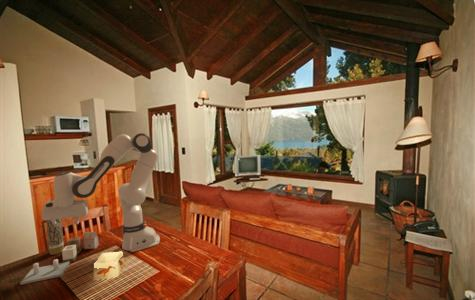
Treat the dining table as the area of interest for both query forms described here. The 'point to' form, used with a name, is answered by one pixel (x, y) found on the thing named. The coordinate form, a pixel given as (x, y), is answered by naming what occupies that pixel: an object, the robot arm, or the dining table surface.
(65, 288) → the dining table surface
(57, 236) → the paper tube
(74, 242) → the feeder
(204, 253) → the dining table surface
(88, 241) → the grey box
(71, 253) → the sleeve
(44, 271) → the pinboard
